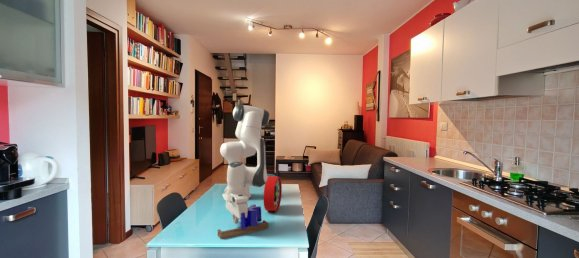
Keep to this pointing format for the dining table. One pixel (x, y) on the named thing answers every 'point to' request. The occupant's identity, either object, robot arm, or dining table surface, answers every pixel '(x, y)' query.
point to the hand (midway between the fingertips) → (235, 222)
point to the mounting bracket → (251, 216)
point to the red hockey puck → (272, 193)
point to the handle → (242, 230)
